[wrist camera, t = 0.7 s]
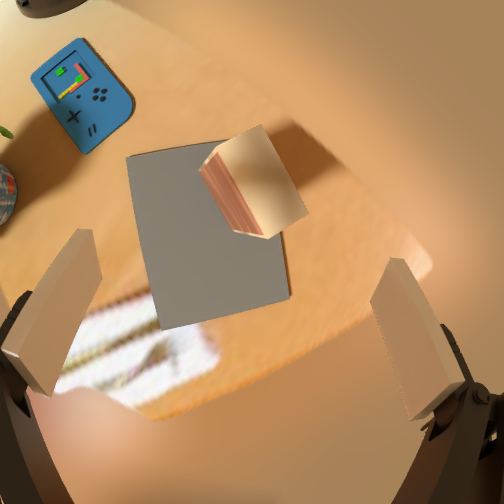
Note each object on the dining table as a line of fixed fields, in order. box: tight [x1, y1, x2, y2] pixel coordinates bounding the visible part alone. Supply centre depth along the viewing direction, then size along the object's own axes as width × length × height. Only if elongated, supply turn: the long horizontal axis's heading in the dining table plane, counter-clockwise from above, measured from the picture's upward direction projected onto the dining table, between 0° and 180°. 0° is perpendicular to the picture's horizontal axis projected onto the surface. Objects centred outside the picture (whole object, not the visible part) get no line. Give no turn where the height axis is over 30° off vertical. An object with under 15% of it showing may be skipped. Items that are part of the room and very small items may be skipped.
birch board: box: [198, 124, 309, 239], centre depth 29 cm, size 4×8×12 cm, turn 30°
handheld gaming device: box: [31, 38, 133, 154], centre depth 28 cm, size 8×1×15 cm
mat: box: [126, 140, 290, 331], centre depth 34 cm, size 20×16×1 cm
